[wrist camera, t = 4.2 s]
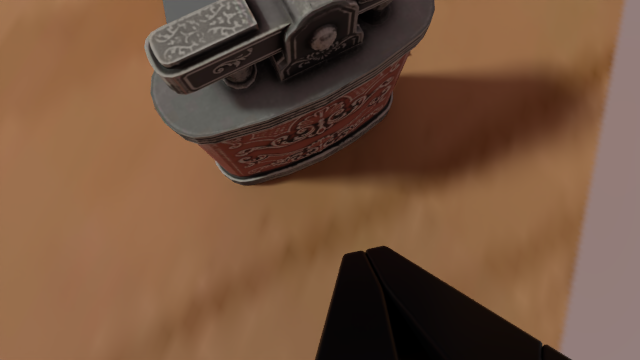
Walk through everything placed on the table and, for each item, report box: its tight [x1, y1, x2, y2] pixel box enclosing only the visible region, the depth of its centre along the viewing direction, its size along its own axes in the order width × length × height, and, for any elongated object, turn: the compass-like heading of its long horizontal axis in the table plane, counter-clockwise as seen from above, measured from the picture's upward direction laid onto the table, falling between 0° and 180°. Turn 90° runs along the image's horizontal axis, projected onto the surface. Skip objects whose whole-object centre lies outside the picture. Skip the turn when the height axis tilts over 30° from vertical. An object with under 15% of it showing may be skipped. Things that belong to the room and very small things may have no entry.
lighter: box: [144, 0, 435, 185], centre depth 14 cm, size 8×3×10 cm, turn 117°
